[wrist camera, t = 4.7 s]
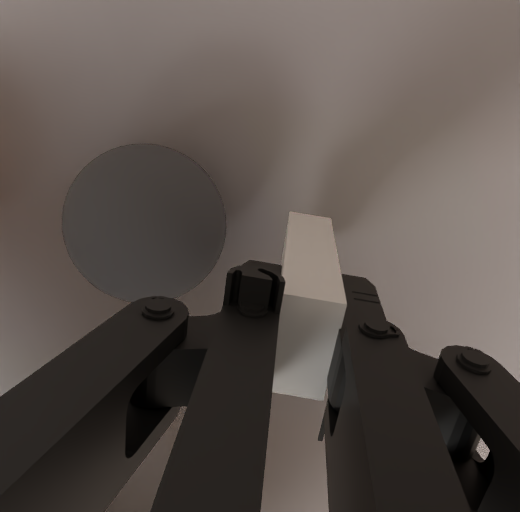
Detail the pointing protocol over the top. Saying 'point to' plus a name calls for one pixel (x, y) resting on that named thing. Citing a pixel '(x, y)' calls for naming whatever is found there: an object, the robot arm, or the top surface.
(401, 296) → the top surface
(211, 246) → the dark gray ball
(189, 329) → the robot arm
